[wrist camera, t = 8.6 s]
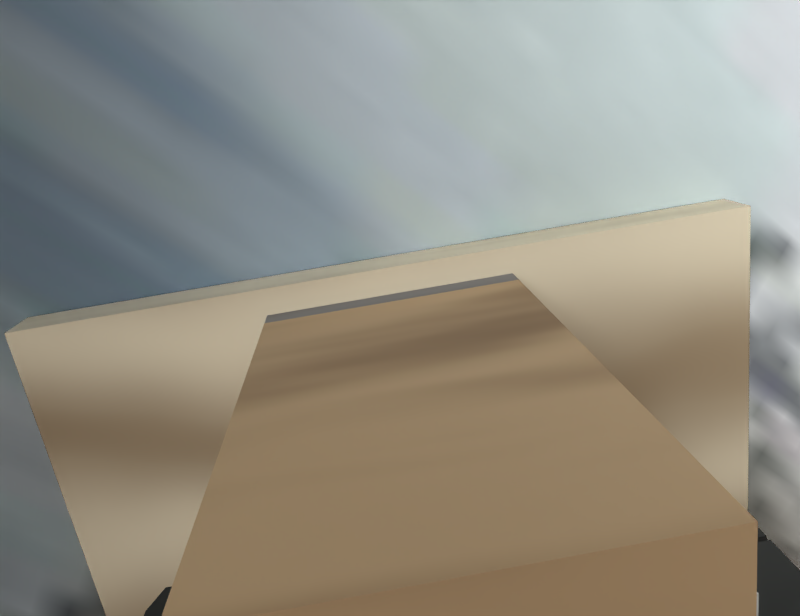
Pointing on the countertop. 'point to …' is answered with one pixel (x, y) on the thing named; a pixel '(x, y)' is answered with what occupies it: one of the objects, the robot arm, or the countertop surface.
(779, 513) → the countertop surface
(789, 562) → the robot arm
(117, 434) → the birch board
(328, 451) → the cardboard box
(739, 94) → the countertop surface
